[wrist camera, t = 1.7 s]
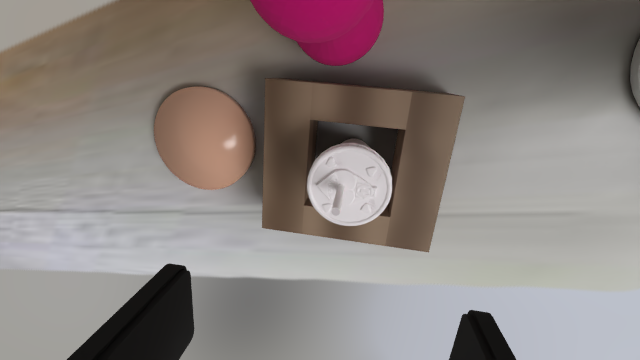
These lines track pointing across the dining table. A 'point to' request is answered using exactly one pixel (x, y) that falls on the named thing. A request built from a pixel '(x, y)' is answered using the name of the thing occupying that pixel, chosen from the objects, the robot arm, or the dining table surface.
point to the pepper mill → (326, 26)
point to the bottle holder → (361, 109)
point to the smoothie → (349, 183)
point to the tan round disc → (204, 137)
